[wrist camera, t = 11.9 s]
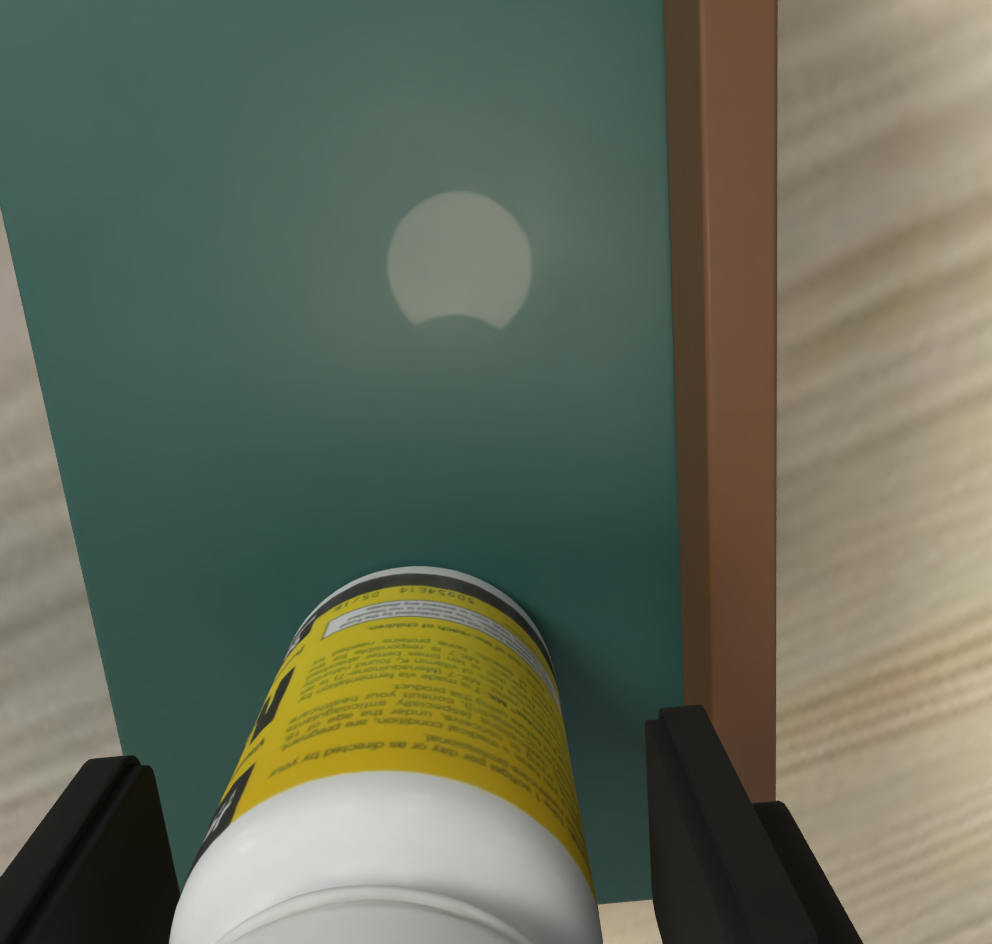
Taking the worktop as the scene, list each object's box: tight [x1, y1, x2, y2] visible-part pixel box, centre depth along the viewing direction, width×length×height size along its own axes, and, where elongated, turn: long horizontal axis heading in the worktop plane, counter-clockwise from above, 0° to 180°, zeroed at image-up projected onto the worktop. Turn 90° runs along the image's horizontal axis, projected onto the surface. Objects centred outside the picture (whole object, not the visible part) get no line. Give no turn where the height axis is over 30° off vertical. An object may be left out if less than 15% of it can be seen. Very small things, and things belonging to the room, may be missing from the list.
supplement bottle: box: [169, 566, 603, 944], centre depth 11 cm, size 5×5×8 cm
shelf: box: [0, 0, 778, 904], centre depth 15 cm, size 11×22×8 cm, turn 5°
